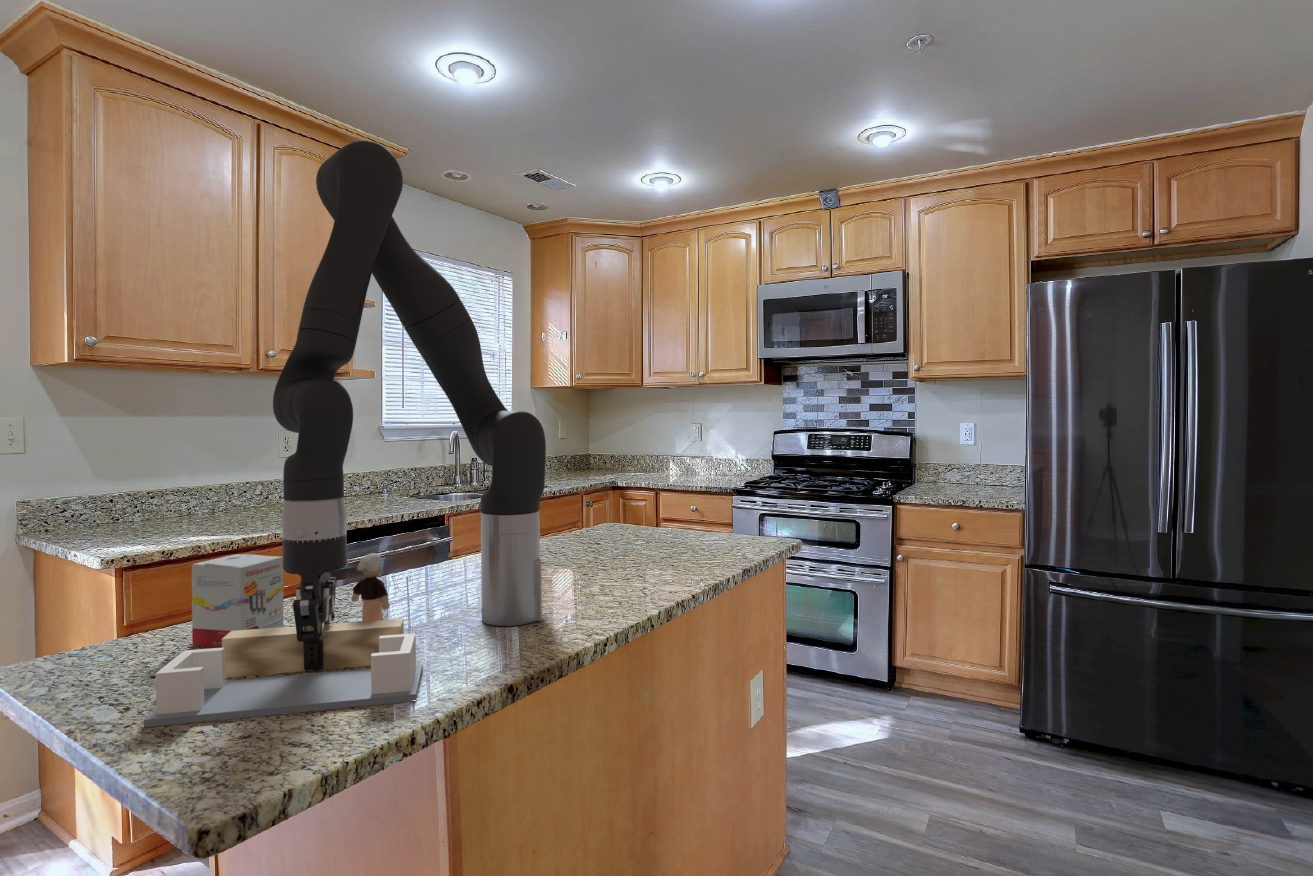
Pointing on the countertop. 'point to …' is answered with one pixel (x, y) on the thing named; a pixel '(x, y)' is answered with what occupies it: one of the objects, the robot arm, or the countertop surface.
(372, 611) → the grandmother figurine
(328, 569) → the robot arm
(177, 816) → the countertop surface
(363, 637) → the oak slat
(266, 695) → the end-cap board
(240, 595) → the ink box
